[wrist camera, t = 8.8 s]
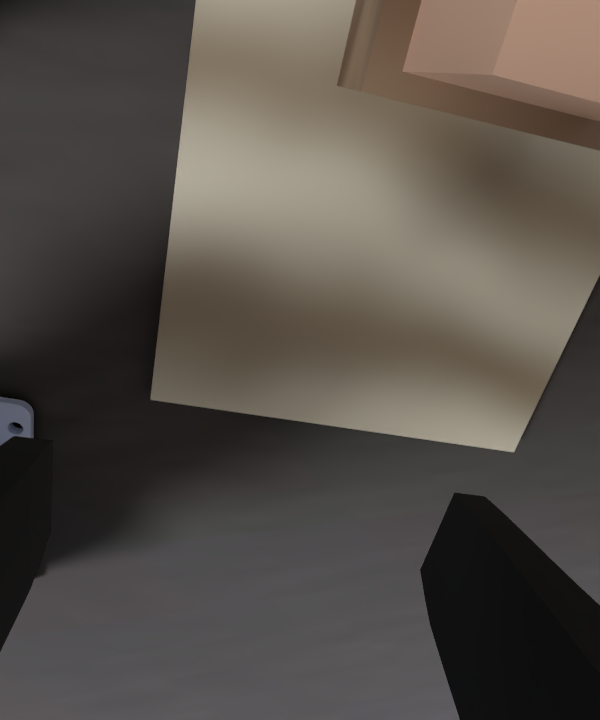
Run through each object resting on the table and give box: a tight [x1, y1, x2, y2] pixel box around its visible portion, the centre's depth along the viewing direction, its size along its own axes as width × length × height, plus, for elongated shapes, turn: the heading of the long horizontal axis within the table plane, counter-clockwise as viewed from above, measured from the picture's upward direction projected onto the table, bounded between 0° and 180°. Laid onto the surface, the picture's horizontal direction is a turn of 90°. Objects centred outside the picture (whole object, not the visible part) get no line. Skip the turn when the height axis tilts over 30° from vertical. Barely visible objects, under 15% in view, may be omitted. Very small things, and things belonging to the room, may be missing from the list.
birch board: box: [150, 0, 600, 452], centre depth 16 cm, size 20×14×1 cm
